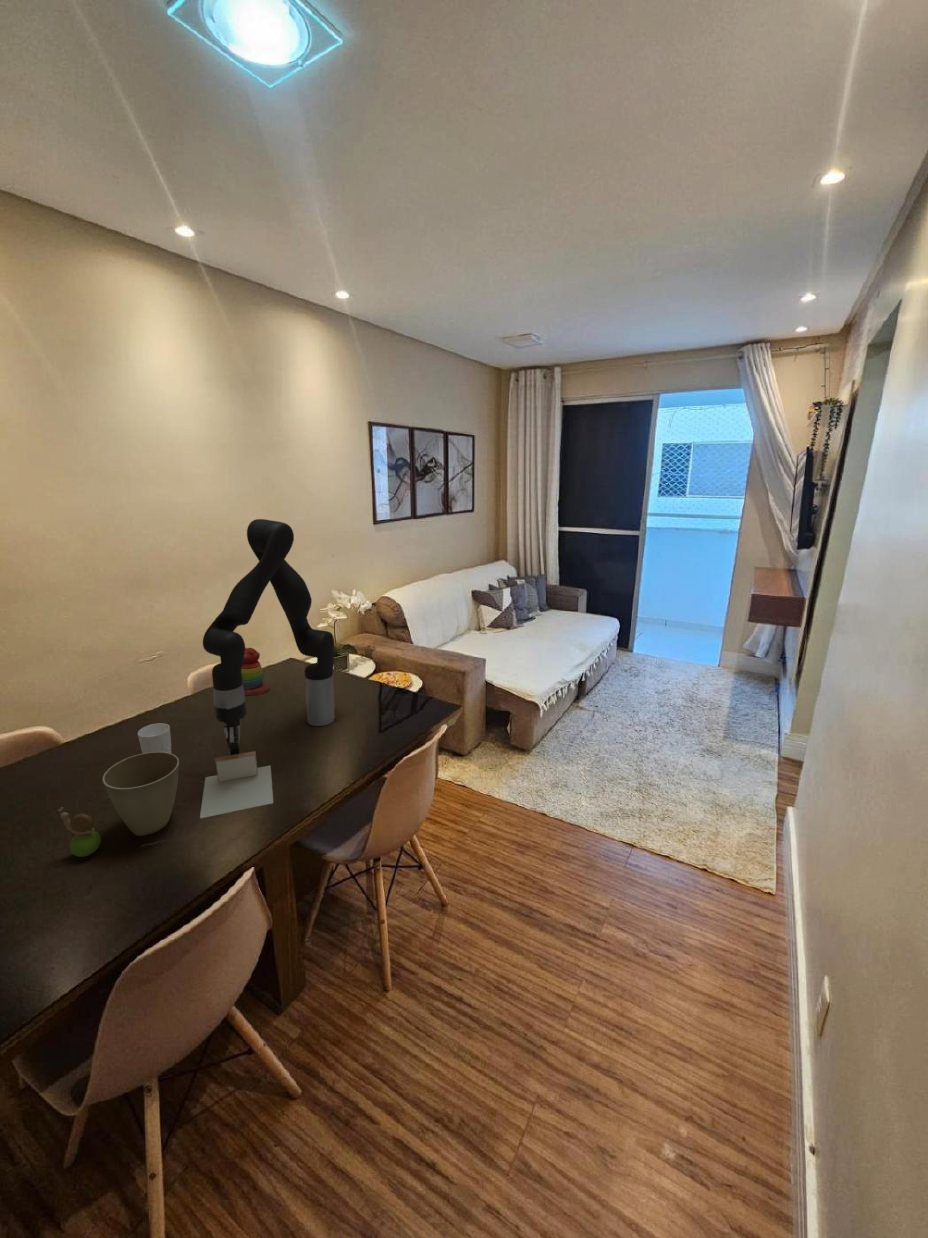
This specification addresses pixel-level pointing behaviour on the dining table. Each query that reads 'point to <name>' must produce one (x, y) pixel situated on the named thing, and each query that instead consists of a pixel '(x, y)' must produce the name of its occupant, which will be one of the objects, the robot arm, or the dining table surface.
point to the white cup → (155, 738)
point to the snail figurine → (81, 834)
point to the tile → (236, 766)
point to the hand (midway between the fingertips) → (235, 757)
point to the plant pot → (143, 790)
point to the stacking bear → (252, 673)
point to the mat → (236, 793)
